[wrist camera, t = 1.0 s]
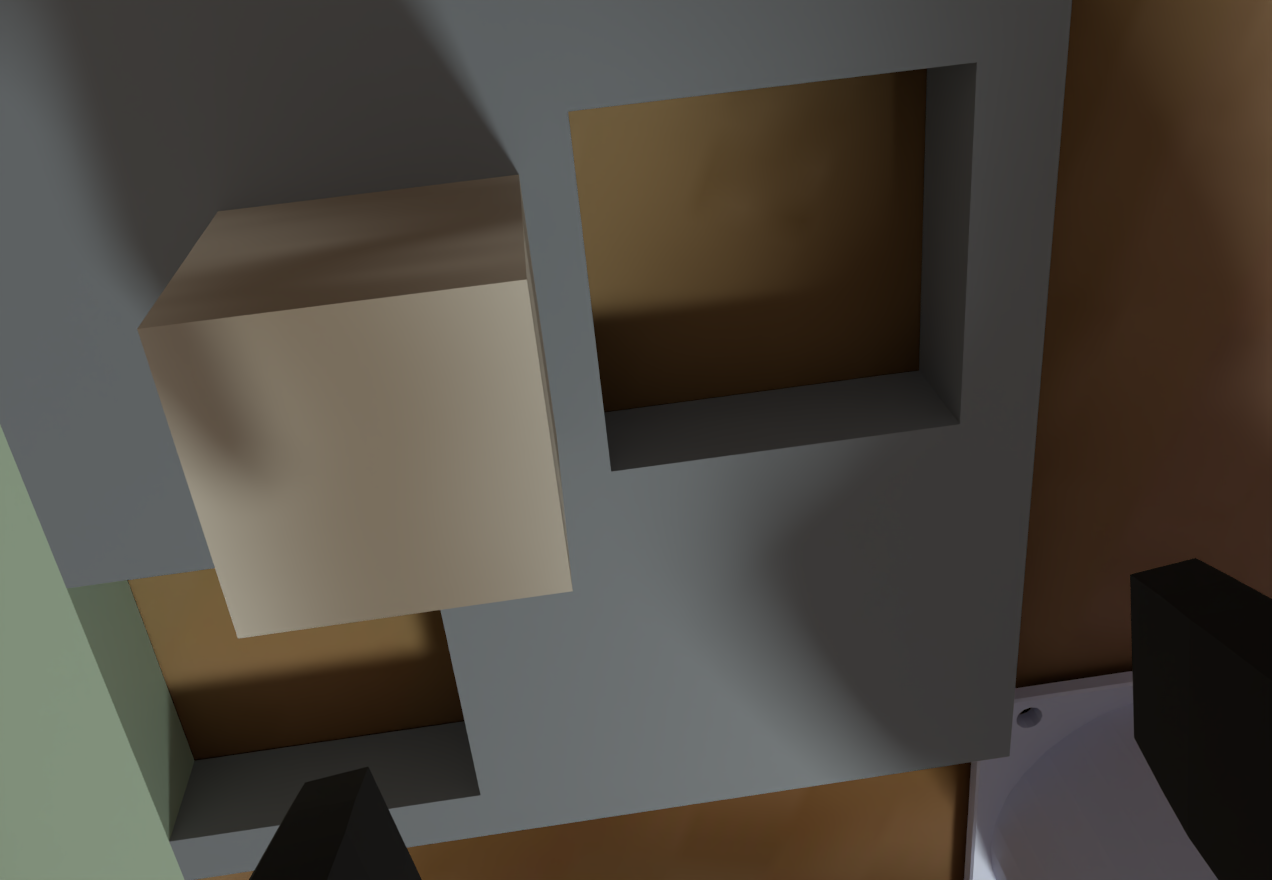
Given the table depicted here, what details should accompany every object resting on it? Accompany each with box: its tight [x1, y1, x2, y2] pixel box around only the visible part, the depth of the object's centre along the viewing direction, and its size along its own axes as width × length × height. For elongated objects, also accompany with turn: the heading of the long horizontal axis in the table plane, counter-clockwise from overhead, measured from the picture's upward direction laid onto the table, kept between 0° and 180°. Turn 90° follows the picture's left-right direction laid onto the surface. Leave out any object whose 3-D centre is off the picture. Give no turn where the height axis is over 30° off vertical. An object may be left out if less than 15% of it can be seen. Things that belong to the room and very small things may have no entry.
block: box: [137, 175, 573, 638], centre depth 15 cm, size 4×4×4 cm
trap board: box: [0, 0, 1072, 880], centre depth 18 cm, size 20×15×4 cm
